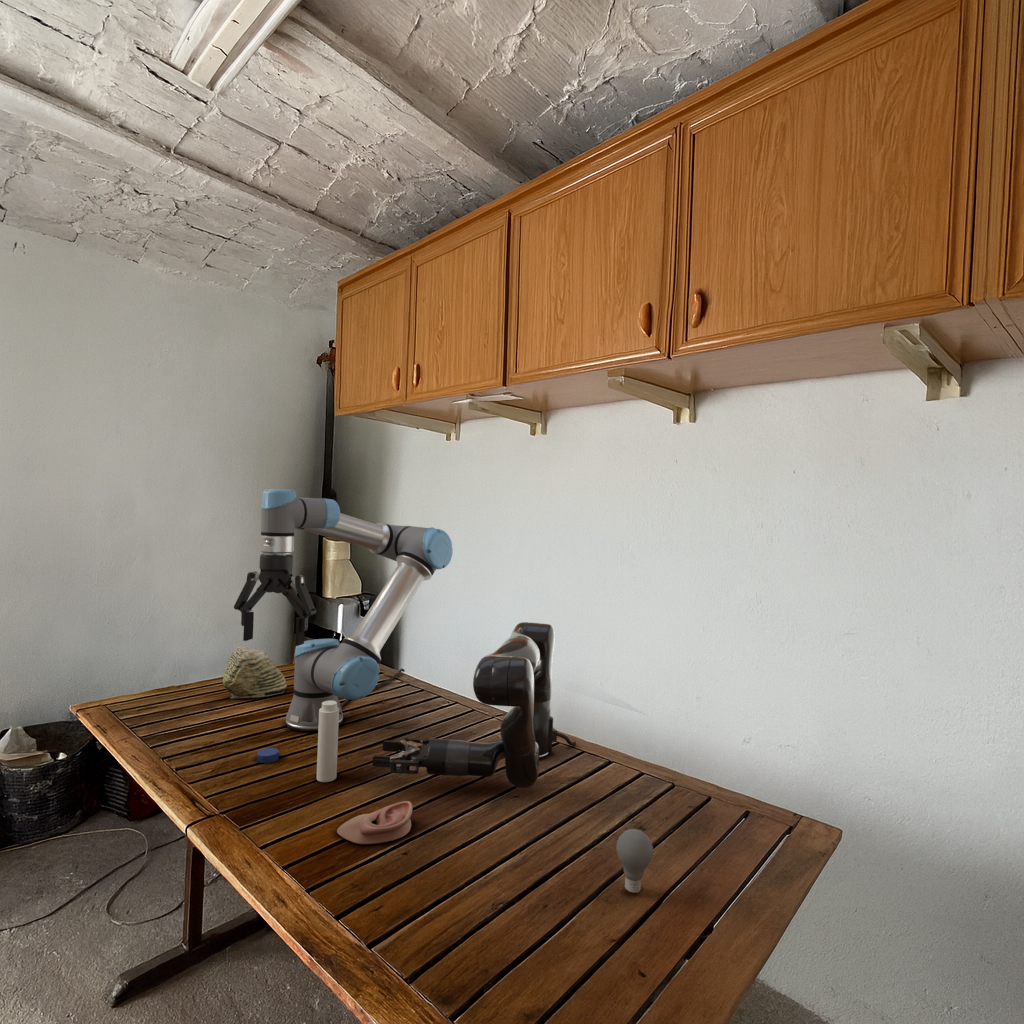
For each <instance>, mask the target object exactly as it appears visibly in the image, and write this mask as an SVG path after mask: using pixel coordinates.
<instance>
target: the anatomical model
mask: <svg viewBox="0 0 1024 1024" xmlns="http://www.w3.org/2000/svg"><path fill="white" fill-rule="evenodd" d="M413 811H414V810H413V804H412V802H411V801H409V800H404V801H399V802H396V803H392V804H389V805H387V806H384V807H382V808H380V809H377V810H375V811H373V812H370V813H362V814H358V815H357V816H354V817H352V818H350V819H348V820H347V821H345V822H344V823H342V824H341V825H339V827H338V828H337V829H336V833H337V835H339V837H342V838H343V839H345V840H346V841H349V842H351V843H353V844H357V845H373V844H382V843H388V842H391V841H394V840H398V839H400V838H403V837H404V836H406V835H407V834H408V833H409V832H410V831H411V828H412V820H411V817H412V814H413Z"/></svg>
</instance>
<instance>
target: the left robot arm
mask: <svg viewBox="0 0 1024 1024" xmlns="http://www.w3.org/2000/svg"><path fill="white" fill-rule="evenodd" d="M260 509H261V513H260V514H261V517H260V546H259V551H260V552H261V554H260V555H259V569H260V572H258V571H250V572H248V573H247V575H246V581H245V583H244V585H243V587H242V589H241V591H240V593H239V595H238V598H237V599H236V601H235V603H234V605H233V609H234V610H237V611H238V612H240V614H241V615H240V617H241V619H240V620H241V621H240V625H241V627H243V633H242V634H243V635H242V636H243V637H242V641H243V642H247V641H250V640H253V639H254V621H255V620H254V619H255V618H254V616H255V612H254V611H253V608H254V607H255V606H256V605H257V604H258V602H259V601H260V600H261V599H262V598H263V596H265V595H266V593H270V594H271V593H275V594H282V595H283V597H285V598H286V600H287V601H288V602H289V603H290V605H291V607H292V608H293V609H294V611H295V612H296V614H297V615H298V616H299V617H296V618H295V640H294V646H295V650H294V655H293V657H294V672H293V673H294V674H293V695H292V696H293V697H292V699H291V702H290V704H289V708H288V711H287V713H286V715H285V726H286V728H287V729H289V730H291V731H294V732H295V731H296V732H301V733H316V732H317V733H318V727H319V709H320V708H322V702H324V701H336V702H337V707H338V708H339V725H338V727H339V726H340V725H342V723H343V722H344V714H343V709H342V707H344V706H345V705H346V704H347V703H348V702H349V701H358V700H361V699H364V698H366V697H367V696H369V695H370V694H371V693H372V692H373V691H374V689H377V688H379V687H382V686H383V685H386V684H388V683H389V682H391V681H393V680H394V679H396V678H397V677H398V676H399V675H400V674H401V673H402V672H403V673H404V672H405V671H406V670H405V668H404V667H403V668H402V667H401V668H400V669H399V670H398V672H399V673H398V672H396V673H395V674H394V675H392V676H391V677H390V678H388V679H386V680H384V681H382V682H380V683H378V682H379V680H380V675H379V674H380V673H381V672H380V671H381V670H380V665H379V664H380V662H381V661H382V657H381V650H382V649H383V647H384V645H385V644H386V642H387V640H388V639H389V637H390V636H391V634H392V633H393V631H394V630H395V627H396V626H397V624H398V623H399V621H400V620H401V618H402V616H403V614H404V613H405V611H406V609H407V608H408V607H409V604H410V603H411V602H412V599H413V598H414V596H415V595H416V593H417V591H418V590H419V588H420V587H421V585H422V583H423V582H424V581H429V580H431V579H432V577H433V575H434V574H435V573H436V571H437V570H442V569H445V568H447V567H448V565H450V563H451V561H452V558H453V554H454V553H453V551H454V550H453V549H454V548H453V541H452V540H451V537H450V536H449V534H448V533H447V532H446V531H445V530H443V529H441V528H436V527H432V526H431V527H424V526H423V527H421V526H412V525H395V524H389V523H388V524H387V523H386V522H377V523H374V522H370V521H367V520H364V519H361V518H358V517H354V516H351V515H348V514H345V513H342V512H341V508H340V505H339V504H338V502H337V501H336V500H335V499H332V498H326V497H322V498H319V497H318V498H316V497H315V498H314V497H297V493H296V491H295V489H290V488H289V489H287V488H286V489H285V488H266V489H264V490H263V492H262V497H261V505H260ZM295 529H296V530H302V531H305V532H308V533H311V534H315V535H319V536H323V537H326V538H329V539H333V540H337V541H340V542H344V543H348V544H352V545H354V546H359V547H362V548H365V549H368V550H369V552H370V553H372V554H374V555H379V556H381V557H384V558H387V559H388V560H390V561H391V560H392V561H394V562H396V564H397V566H396V567H395V569H394V571H393V572H392V574H391V575H390V577H389V578H388V579H387V582H386V583H385V584H384V585H383V588H382V589H381V591H380V592H379V594H378V595H377V597H376V599H375V600H374V601H373V603H372V604H371V606H370V608H369V609H368V611H367V612H366V614H365V616H364V617H363V618H362V620H361V622H360V623H359V625H358V626H357V628H356V629H355V630H354V632H353V634H352V635H350V636H347V637H344V638H343V639H342V640H341V642H340V641H339V639H337V638H318V639H308V640H305V632H306V631H308V628H309V618H310V617H311V616H314V615H316V614H317V609H316V607H315V604H314V602H313V599H312V597H311V594H310V593H309V592H310V591H309V589H308V587H307V585H306V576H305V575H304V574H300V575H293V569H294V555H293V554H292V553H293V552H294V551H295ZM257 582H260V584H259V586H258V587H257V588H256V591H254V588H255V587H256V584H257ZM292 584H293V585H295V589H296V591H297V593H296V592H295V589H294V587H293V586H292ZM253 591H254V593H253V594H252V592H253ZM405 673H406V672H405ZM340 699H342V700H344V701H343V702H340Z"/></svg>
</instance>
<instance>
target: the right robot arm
mask: <svg viewBox="0 0 1024 1024" xmlns="http://www.w3.org/2000/svg"><path fill="white" fill-rule="evenodd" d="M555 639H556V633H555V628H554V626H553V624H550V623H540V622H528V621H526V622H525V621H523V622H519V623H517V624H516V625H515V626H514V628H513V629H512V632H511V634H510V636H509V637H508V638H507V639H505V641H504V642H503V643H502V644H501V645H500V646H499V647H498V648H497V649H496V650H494V651H493V652H492V653H491V652H490V653H489V654H487V655H484V656H483V657H481V659H480V660H479V662H478V663H477V665H476V667H475V670H474V674H473V682H472V688H473V692H474V695H475V698H476V699H477V700H478V701H479V702H480V703H481V704H482V705H487V706H497V707H512V708H511V709H510V710H509V711H508V712H507V713H506V714H505V715H504V717H503V719H502V721H501V724H500V728H499V729H500V732H499V733H500V738H501V740H498V741H494V742H493V741H492V742H479V741H478V742H475V741H466V740H461V739H449V738H431V739H429V738H421V737H420V738H419V737H409V736H406V737H404V739H400V740H383V742H382V751H383V752H395V753H398V754H396V755H392V756H391V755H379V754H375V755H374V756H373V757H372V766H373V767H377V768H389V769H390V774H400V775H401V774H403V775H404V774H406V775H407V774H408V775H418V774H419V769H420V768H426V769H425V770H426V773H427V774H428V775H434V776H450V777H466V776H469V777H483V778H484V777H485V778H486V777H493V775H494V774H495V773H496V770H497V767H498V764H499V762H500V761H501V760H504V764H505V765H504V767H505V776H506V779H507V780H508V782H509V783H510V784H511V785H512V786H513V787H515V788H519V789H528V788H530V787H532V786H534V785H535V784H536V782H537V781H538V779H539V768H540V759H545V758H546V757H548V756H550V755H553V754H552V753H553V743H556V742H557V740H558V737H559V738H562V739H563V740H565V742H566V744H568V745H569V746H571V747H574V746H576V745H577V742H576V741H572V740H571V739H570V738H569V736H567V735H566V734H563V733H561V732H559V731H558V730H557V729H556V728H555V727H554V717H553V716H552V715H551V709H552V708H551V707H552V685H553V681H552V680H553V664H554V653H555V644H556V643H555V642H556V640H555Z"/></svg>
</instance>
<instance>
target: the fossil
mask: <svg viewBox="0 0 1024 1024" xmlns="http://www.w3.org/2000/svg"><path fill="white" fill-rule="evenodd" d="M222 676H223V677H222V685H223V687H224V688H225V690H226V691H228V693H229V698H230V699H250V698H264V697H271V696H275V695H281V694H284V693H285V691H286V689H287V687H288V686H287V680H286V678H285V676H284V674H283V673H282V672H281V669H279V668H278V667H277V665H276V663H275V662H274V660H273V659H272V658H271V657H270V656H269V655H268V654H267V653H266V652H265V650H264V649H263V648H260V647H258V648H251V647H247V646H246V647H245V646H238V647H237V648H236V649H235V650H233V651H232V653H231V656H230V657H229V659H228V660H227V663H226V666H225V668H224V671H223V675H222Z"/></svg>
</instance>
